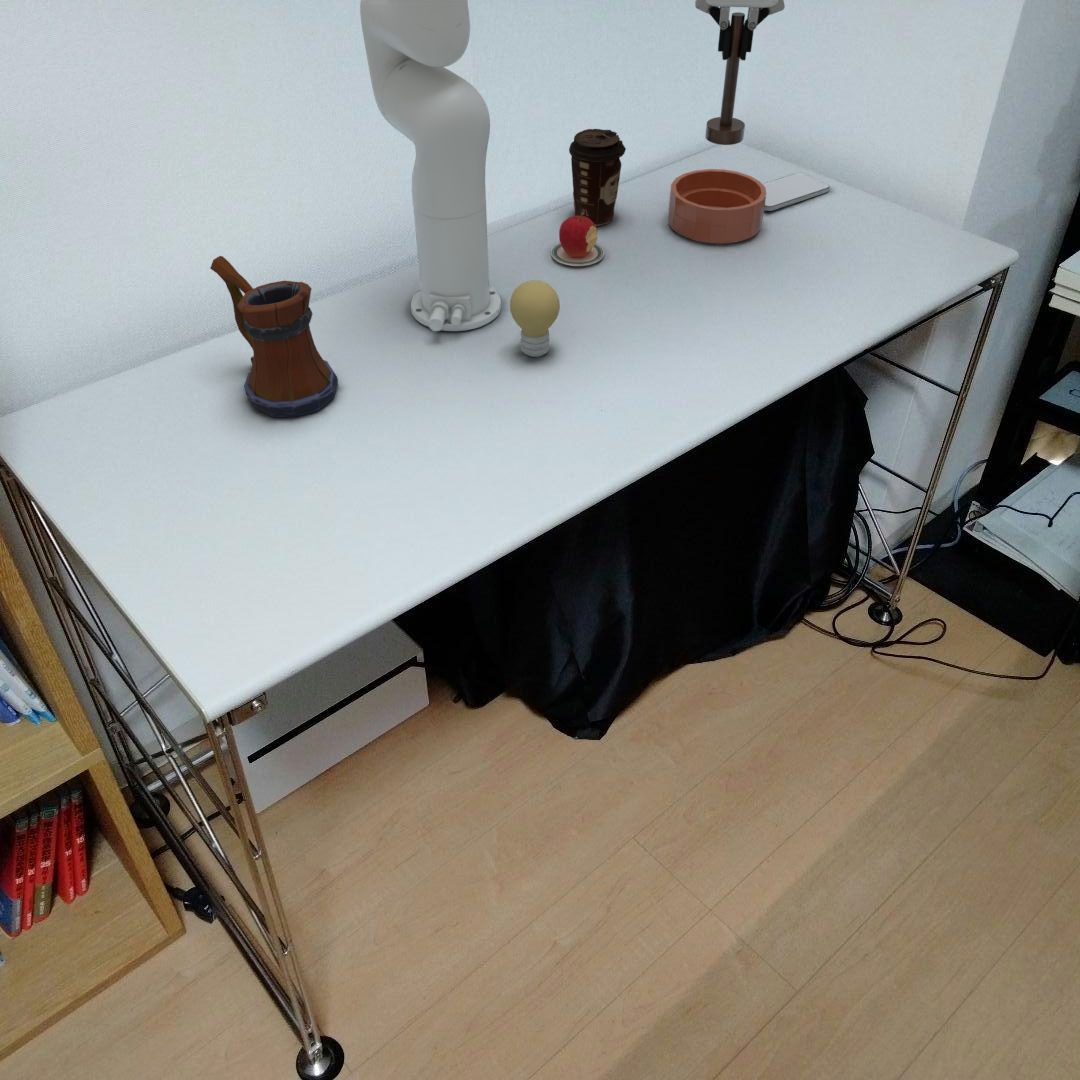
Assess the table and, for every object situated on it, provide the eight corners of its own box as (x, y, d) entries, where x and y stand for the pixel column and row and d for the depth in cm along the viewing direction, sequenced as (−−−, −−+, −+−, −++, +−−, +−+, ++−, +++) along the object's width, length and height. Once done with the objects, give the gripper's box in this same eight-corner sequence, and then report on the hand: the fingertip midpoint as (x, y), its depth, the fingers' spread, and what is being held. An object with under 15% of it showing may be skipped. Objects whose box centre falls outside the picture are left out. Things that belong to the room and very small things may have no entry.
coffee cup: (622, 207, 169) (627, 127, 160) (620, 230, 163) (625, 149, 154) (569, 205, 170) (571, 125, 161) (565, 228, 163) (567, 146, 155)
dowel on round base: (744, 145, 151) (760, 21, 140) (705, 144, 152) (718, 20, 140) (742, 130, 156) (757, 8, 144) (704, 129, 156) (717, 7, 144)
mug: (201, 372, 134) (172, 267, 124) (276, 338, 140) (255, 235, 130) (281, 432, 124) (257, 323, 114) (357, 393, 130) (341, 286, 120)
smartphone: (832, 186, 173) (768, 207, 166) (831, 193, 173) (767, 214, 167) (800, 171, 177) (736, 191, 170) (798, 178, 178) (735, 198, 171)
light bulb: (517, 368, 134) (516, 299, 128) (505, 342, 139) (504, 275, 132) (565, 361, 136) (566, 292, 129) (551, 335, 140) (552, 268, 133)
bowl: (763, 248, 158) (769, 211, 154) (668, 244, 159) (671, 207, 155) (757, 206, 169) (762, 170, 165) (667, 203, 170) (670, 167, 166)
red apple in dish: (602, 243, 160) (603, 202, 155) (605, 268, 154) (607, 227, 149) (550, 243, 160) (550, 203, 155) (551, 268, 154) (551, 227, 149)
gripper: (689, -87, 131) (677, 65, 144) (816, -85, 130) (792, 67, 143) (688, -101, 137) (677, 47, 149) (810, -99, 136) (788, 49, 148)
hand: (733, 56), depth 146 cm, fingers closed on dowel on round base
